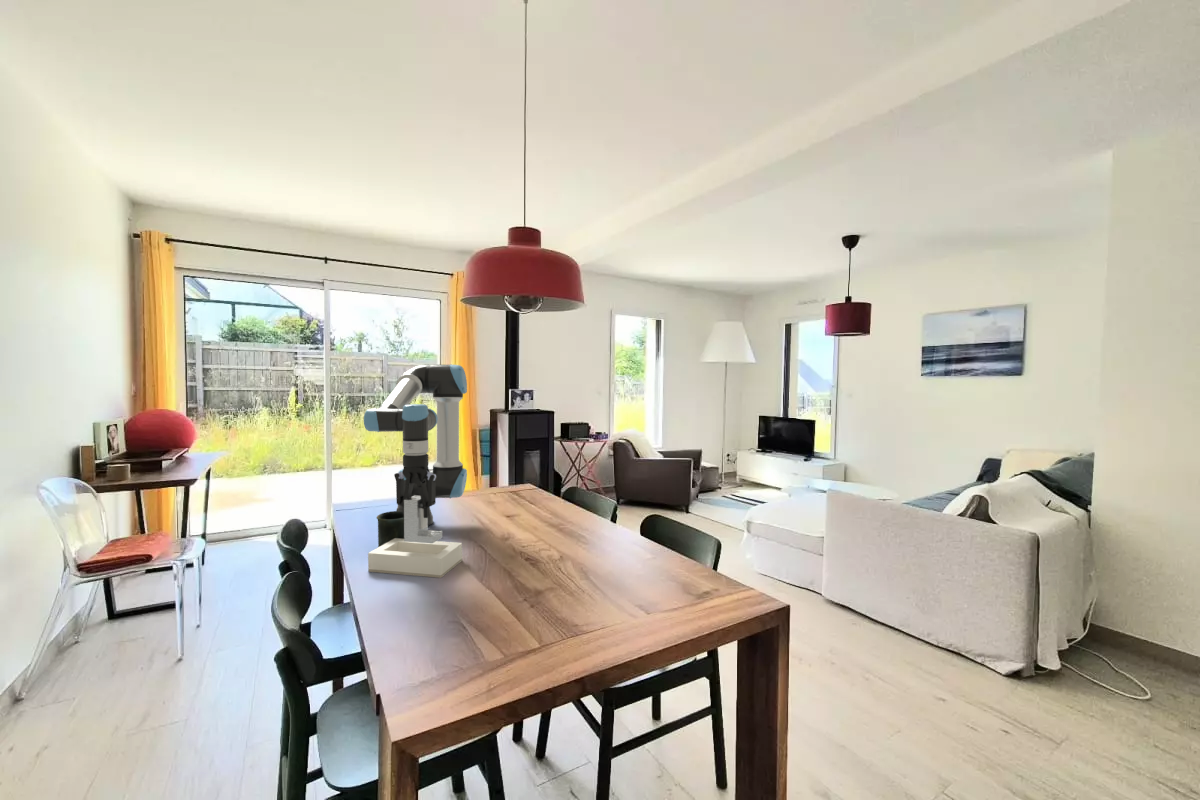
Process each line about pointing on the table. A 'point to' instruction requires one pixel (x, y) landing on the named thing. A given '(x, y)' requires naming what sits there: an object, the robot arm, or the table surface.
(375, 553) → the well block
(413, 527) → the grey l-shaped block
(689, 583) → the table surface
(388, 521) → the mug
